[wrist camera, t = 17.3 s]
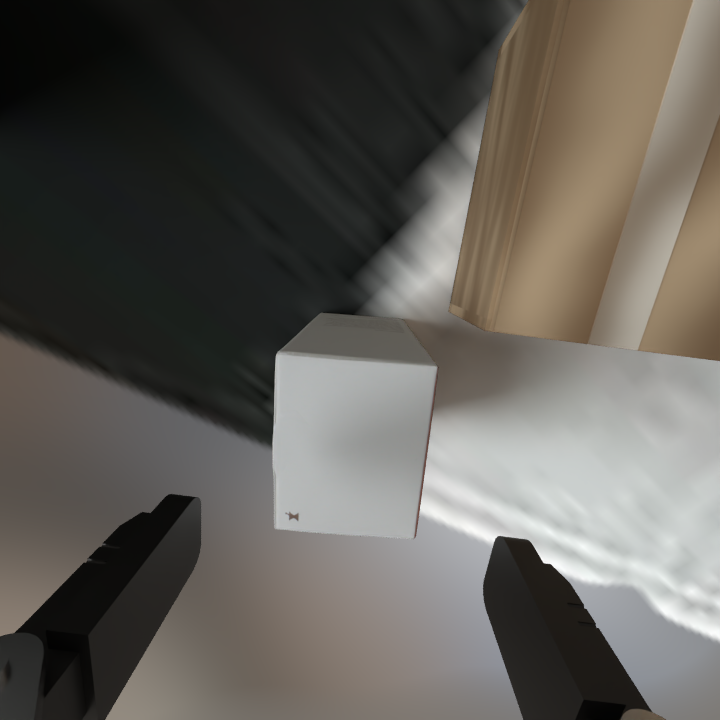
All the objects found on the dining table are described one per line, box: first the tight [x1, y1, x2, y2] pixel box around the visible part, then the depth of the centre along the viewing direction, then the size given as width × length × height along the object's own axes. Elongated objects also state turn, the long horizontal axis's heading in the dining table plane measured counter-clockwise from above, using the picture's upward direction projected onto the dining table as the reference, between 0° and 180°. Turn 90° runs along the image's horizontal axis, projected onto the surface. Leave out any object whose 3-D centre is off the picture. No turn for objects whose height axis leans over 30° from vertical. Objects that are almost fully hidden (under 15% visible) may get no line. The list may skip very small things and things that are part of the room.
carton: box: [449, 0, 717, 361], centre depth 19 cm, size 12×16×8 cm
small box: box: [273, 313, 439, 539], centre depth 20 cm, size 8×6×13 cm
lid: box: [489, 0, 720, 361], centre depth 15 cm, size 12×16×1 cm
